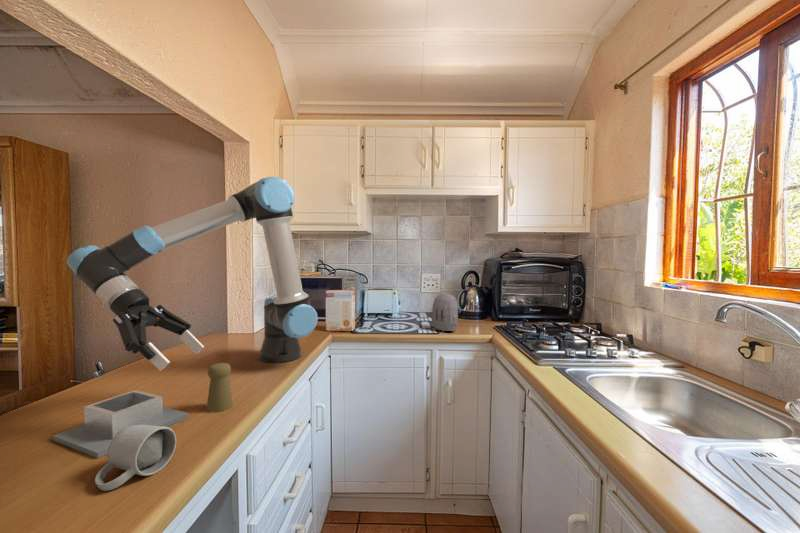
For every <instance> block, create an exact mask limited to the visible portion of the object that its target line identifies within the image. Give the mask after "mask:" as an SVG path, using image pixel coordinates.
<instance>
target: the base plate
mask: <svg viewBox="0 0 800 533" xmlns="http://www.w3.org/2000/svg"><path fill="white" fill-rule="evenodd" d="M187 418H189V413H188V412H186V411H181V410H179V409H174V408H170V407H168V406H167V407H166V406H164V405H163V418H162V419H159V420H157V421H155V422H152V423H150V424H148V425H150V426H163V427H169V426H172V425H174V424H176V423H179V422H181V421H184V420H185V419H187ZM112 440H113V439H110V438H108V437H105V436H102V435H99V434H96V433H93V432H90V431H88V430H85V423H83V424H81V425H78V426H76V427H72V428H69V429H67V430H65V431H61V432H58V433H56V434H54V435H52V441H54V442H57V443H58V444H61V445H64V446H66V447H68V448H71V449H73V450H76V451H78V452H81V453H84V454H86V455H88V456H91V457H94V458H97V459H99V458H102V457H104V456H106V455H108V449H109V446H110V444H111V442H112Z"/></svg>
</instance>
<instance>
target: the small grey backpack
mask: <svg viewBox="0 0 800 533" xmlns="http://www.w3.org/2000/svg"><path fill="white" fill-rule="evenodd" d="M458 311H459V306H458V299H457V298H456V297H455V296H454V295H453V294H450V293H448V292H442V293H439V294H438V295H437V296H436V297H435V298H434V301H433V304H432V310H431V321H432V324H433V328H434V329H435V330H437V329H438V331H440V330H441V331H440V332H444V331H452V332H456V329H457V326H458V322H459V321H458V320H459V318H458V317H459V312H458Z"/></svg>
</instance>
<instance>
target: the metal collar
mask: <svg viewBox="0 0 800 533" xmlns="http://www.w3.org/2000/svg"><path fill="white" fill-rule="evenodd" d="M163 398H164V397H163V396H161V395H158V394H154V393H150V392H145V391H141V390H138V389H134V390H131V391H128V392H125V393H121V394H118V395H114V396H112V397H110V398H107V399H103V400H100V401H97V402H94V403H91V404H88V405H84V406H83V408H84V410H83V412H84V413H83V416H84V424H85V430H88V431H90V432H93V433H96V434H99V435H102V436H105V437H108V438H110V439H114V437H115V436H116V435H117V434H118V433H119V432H120V431H122V430H123V429H125V428H127V427H130V426H134V425H148V424H150V423H152V422H155V421H157V420H159V419H162V418H163V406H164V404H163Z"/></svg>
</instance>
